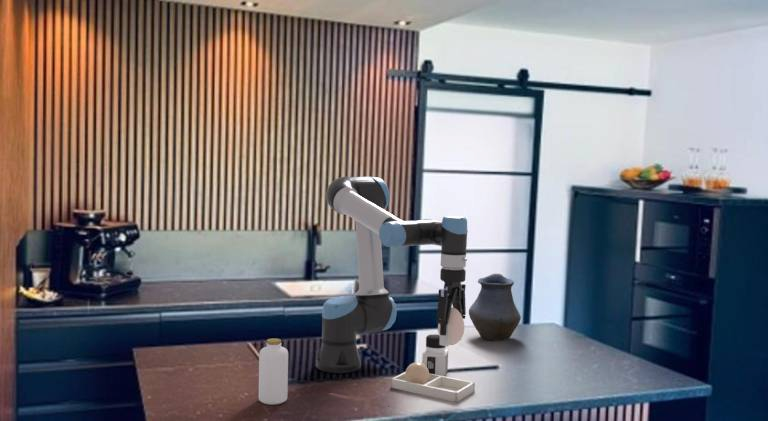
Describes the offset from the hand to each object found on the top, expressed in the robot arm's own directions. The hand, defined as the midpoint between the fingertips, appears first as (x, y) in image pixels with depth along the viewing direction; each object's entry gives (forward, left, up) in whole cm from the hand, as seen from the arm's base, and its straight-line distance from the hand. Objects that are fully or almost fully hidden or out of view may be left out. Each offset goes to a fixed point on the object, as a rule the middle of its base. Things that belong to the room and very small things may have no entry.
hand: (450, 342), depth 221 cm
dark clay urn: (-17, +74, -17) cm, 78 cm away
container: (-14, +17, -17) cm, 27 cm away
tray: (-6, 0, -16) cm, 17 cm away
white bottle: (-40, -35, -17) cm, 55 cm away
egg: (0, 0, -1) cm, 1 cm away
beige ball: (-11, 0, -16) cm, 19 cm away
